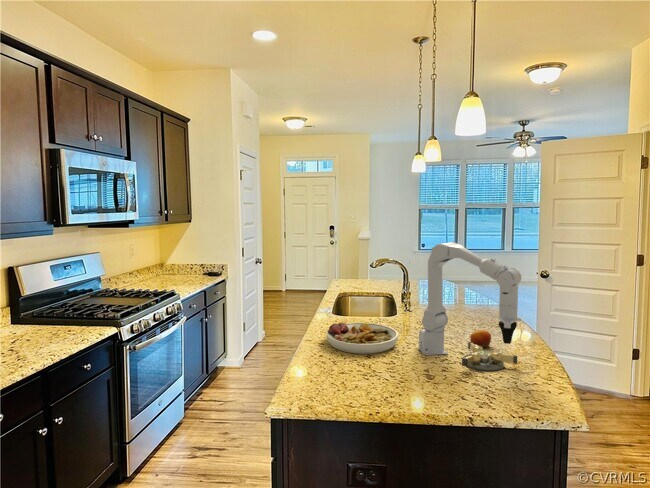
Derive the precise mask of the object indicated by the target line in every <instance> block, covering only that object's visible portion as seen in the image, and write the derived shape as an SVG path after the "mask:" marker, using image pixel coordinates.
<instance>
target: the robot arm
mask: <svg viewBox="0 0 650 488" xmlns="http://www.w3.org/2000/svg"><path fill="white" fill-rule="evenodd" d="M453 259H461V260H463V261H465V262H468V263H469V264H471V265H473V266H476V267H478V268H479V271H480V273H482V274H484V275H485V276H488V277H489V278H491V279H493V280H495V281H496V282H497V284H498V286H499V301H498V302H499V303H498V306H499V307H498V316H497V317H498V320H499V321H498V326H499V329H500V332H501V335H502V342H503V344H508V345H511V344H512V340H513V335H514V332H515V330H516V329H517V326H518V323H517V321H519V322H520V321H521V320H522V318H521V316H520V317H519V316H518V298H519V284H520V283H521V280H522V274H521V273H520V271H518V269H516V268H513V267H511V268H509V266H508V265H506V264H505V265H503V264H501V263H499V262H498V261H496V258H493V257H492V258H489V257H488V258H485V259H484V258H483V257H481V256H480V255H477V254H476V253H474V252H473V251H471V250H469V249H468V248H465V247H464V246H463V245H462V244H459V243H457V242H454V241H450V242H444V243H443V242H441V243H437V244H435V245H434V246H433V247H431V253H430V255H429V257H428V260H427V306H426V307H425V309H424V310H423V317H422V319H421V325H422V327H423V328H424V329H421V330H419V331H418V332H419V333H418V347H417V348H418V350H419V351H420V352H421V353H422V354H423V355H424V356H432V355H433V356H435V355H437V356H438V355H448V354H449V353H448V352H447V350H445V328H446V326H447V324H448V322H449V318H448V315H447V312H446V311H447V309H446V307H444V306H443V266H444V265H445V264H446V263H448V262H449V261H451V260H453Z"/></svg>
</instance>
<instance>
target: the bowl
mask: <svg viewBox="0 0 650 488" xmlns="http://www.w3.org/2000/svg"><path fill="white" fill-rule="evenodd" d="M398 337H399V334H398V331H396V330H395V328H392V327H390V326H387V325H383V324H378V323H373V322H372V323H369V322H350V323H345V322H339V323H332V324H331V325H330V326H329V328H328V330H327V331H326V340H327V342H328V344H329V345H330V346H331V347H333V348H334V349H336V350H338V351H342V352H343V353H345V352H346V353H349V354H358V355H368V354H370V355H372V354H378V353H383V352H386V351H388V350H390V349H391V348H392V349H393V347H394V346H395V345H396V344H397V342H398Z"/></svg>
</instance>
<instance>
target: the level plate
mask: <svg viewBox="0 0 650 488" xmlns="http://www.w3.org/2000/svg"><path fill="white" fill-rule="evenodd" d="M477 353H480V354H481V364H469V365H467V366H466V367H468V369H473V370H476V371H481V372H498V371H501V370H503V369H504V367H505V362H502V363H499V364H497V363H493V362H491V352H489V351H487V350H483V351H477ZM468 356H470V354H466V355H463V357H462V358H464V357H468Z"/></svg>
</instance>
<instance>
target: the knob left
mask: <svg viewBox="0 0 650 488" xmlns="http://www.w3.org/2000/svg"><path fill="white" fill-rule="evenodd" d="M463 357H464V356H463ZM463 357H462V358H461V366H464V367H467V365H469V364H481V354H480V353H477V352H470V356H468V357H464V358H463Z"/></svg>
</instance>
